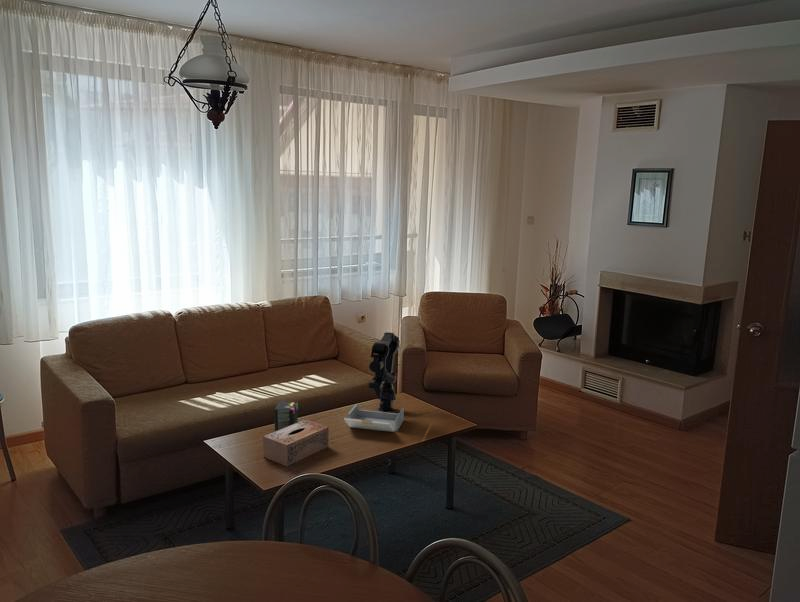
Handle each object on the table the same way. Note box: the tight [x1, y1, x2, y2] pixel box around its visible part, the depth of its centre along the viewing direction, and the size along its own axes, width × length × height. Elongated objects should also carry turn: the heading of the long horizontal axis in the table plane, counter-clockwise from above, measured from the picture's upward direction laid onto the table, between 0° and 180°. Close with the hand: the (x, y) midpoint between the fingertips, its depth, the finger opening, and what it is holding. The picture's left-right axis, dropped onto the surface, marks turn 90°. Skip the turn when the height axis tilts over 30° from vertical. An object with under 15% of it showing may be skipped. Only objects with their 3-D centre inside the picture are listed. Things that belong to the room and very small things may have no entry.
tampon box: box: [273, 401, 299, 432], centre depth 298 cm, size 11×9×15 cm
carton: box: [347, 403, 405, 432], centre depth 313 cm, size 15×25×7 cm, turn 78°
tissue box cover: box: [262, 419, 330, 467], centre depth 279 cm, size 26×14×10 cm, turn 144°
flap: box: [343, 417, 394, 433], centre depth 301 cm, size 1×22×13 cm
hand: (379, 397), depth 317 cm, fingers closed
